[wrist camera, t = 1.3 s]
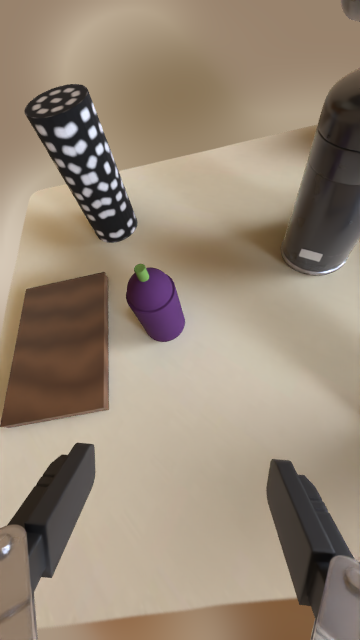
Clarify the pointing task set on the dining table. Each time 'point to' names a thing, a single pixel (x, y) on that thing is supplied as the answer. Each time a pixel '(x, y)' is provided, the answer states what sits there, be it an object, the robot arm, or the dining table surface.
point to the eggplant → (155, 303)
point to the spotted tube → (83, 158)
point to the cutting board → (60, 353)
